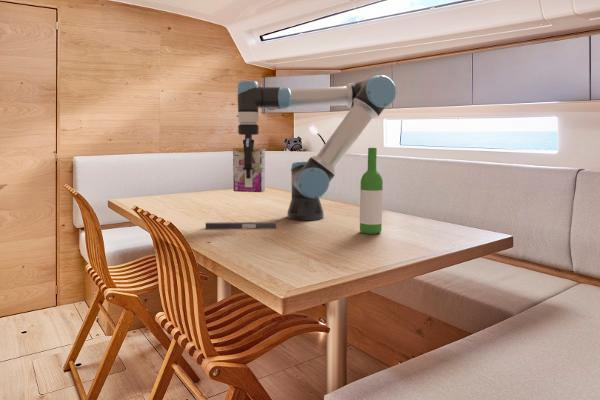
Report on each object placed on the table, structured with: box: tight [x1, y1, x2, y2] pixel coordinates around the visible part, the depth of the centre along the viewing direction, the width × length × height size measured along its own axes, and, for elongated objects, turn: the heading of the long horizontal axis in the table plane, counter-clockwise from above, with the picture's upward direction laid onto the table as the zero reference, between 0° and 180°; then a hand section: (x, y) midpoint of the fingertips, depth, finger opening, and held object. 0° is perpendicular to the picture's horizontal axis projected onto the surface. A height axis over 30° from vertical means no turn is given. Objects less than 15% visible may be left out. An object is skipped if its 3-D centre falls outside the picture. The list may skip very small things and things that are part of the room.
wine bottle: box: [359, 147, 384, 235], centre depth 164 cm, size 8×8×30 cm
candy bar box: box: [232, 147, 266, 193], centre depth 175 cm, size 11×5×16 cm, turn 79°
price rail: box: [205, 221, 277, 230], centre depth 173 cm, size 26×2×2 cm, turn 92°
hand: (249, 185), depth 176 cm, fingers closed on candy bar box, 6 cm apart
